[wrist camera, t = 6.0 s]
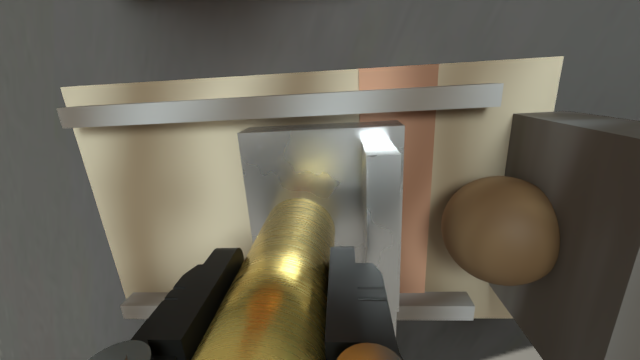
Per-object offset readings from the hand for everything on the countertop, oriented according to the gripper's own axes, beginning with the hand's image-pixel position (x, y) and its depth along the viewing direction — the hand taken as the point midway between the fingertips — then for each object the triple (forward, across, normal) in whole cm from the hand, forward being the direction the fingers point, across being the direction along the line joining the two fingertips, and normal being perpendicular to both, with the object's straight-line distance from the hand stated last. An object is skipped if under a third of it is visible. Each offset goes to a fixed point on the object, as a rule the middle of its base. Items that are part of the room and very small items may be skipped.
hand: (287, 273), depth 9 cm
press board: (+7, 0, 0) cm, 7 cm away
